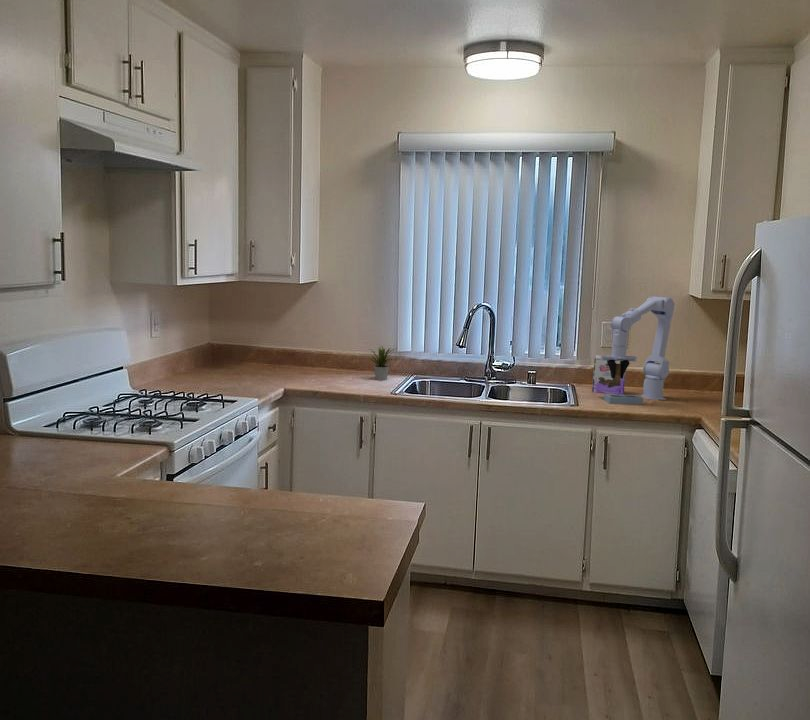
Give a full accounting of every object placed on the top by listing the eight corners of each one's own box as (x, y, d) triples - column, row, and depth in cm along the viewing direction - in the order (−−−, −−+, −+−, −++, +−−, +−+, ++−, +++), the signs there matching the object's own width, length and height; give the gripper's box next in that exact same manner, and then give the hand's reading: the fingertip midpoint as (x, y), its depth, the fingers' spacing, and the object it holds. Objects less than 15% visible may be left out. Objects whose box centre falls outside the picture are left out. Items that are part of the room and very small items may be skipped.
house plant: (405, 380, 372) (406, 345, 370) (381, 383, 364) (382, 347, 361) (385, 376, 383) (386, 342, 381) (362, 378, 374) (363, 343, 372)
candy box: (591, 393, 358) (594, 356, 356) (592, 391, 364) (595, 354, 361) (623, 395, 354) (626, 358, 352) (624, 393, 360) (627, 357, 357)
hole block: (604, 401, 339) (604, 394, 338) (636, 402, 340) (637, 395, 339) (609, 404, 332) (609, 397, 332) (642, 405, 333) (643, 398, 333)
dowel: (611, 384, 337) (613, 363, 336) (618, 384, 337) (620, 363, 336) (613, 385, 334) (615, 364, 333) (621, 386, 334) (622, 364, 333)
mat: (597, 397, 347) (598, 396, 347) (620, 398, 348) (620, 397, 348) (603, 401, 339) (603, 400, 339) (626, 401, 340) (627, 400, 340)
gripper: (605, 346, 328) (602, 379, 330) (640, 347, 329) (637, 380, 331) (599, 344, 335) (597, 376, 337) (634, 345, 336) (631, 377, 338)
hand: (617, 378), depth 335 cm, fingers closed on dowel, 3 cm apart
